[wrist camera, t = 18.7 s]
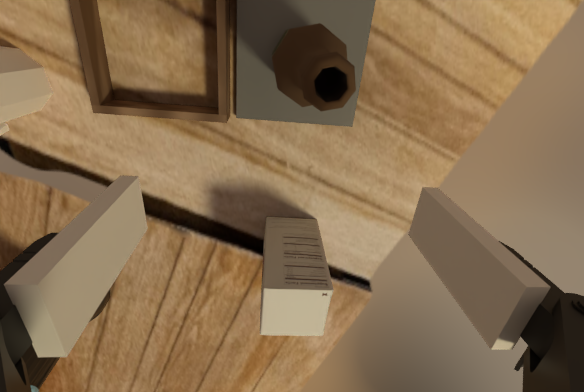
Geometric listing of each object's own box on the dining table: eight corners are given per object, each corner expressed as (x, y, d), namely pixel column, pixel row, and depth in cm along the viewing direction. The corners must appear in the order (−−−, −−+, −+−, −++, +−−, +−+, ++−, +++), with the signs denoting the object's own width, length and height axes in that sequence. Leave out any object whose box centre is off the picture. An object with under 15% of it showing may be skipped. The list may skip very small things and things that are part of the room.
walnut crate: (108, 106, 43) (93, 112, 39) (79, -45, 35) (58, -54, 31) (230, 115, 44) (226, 122, 41) (229, -27, 36) (224, -34, 33)
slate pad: (237, 116, 44) (236, 117, 43) (237, -26, 36) (237, -28, 36) (350, 124, 46) (352, 126, 45) (375, -10, 38) (377, -11, 37)
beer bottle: (311, 11, 38) (359, -18, 17) (340, 68, 41) (410, 104, 20) (259, 48, 39) (244, 64, 18) (291, 100, 43) (309, 164, 22)
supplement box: (265, 214, 53) (262, 285, 38) (317, 217, 53) (335, 288, 39) (262, 258, 57) (258, 337, 42) (311, 260, 58) (324, 338, 43)
